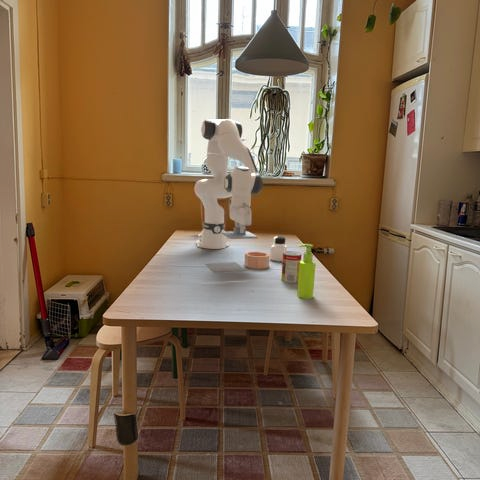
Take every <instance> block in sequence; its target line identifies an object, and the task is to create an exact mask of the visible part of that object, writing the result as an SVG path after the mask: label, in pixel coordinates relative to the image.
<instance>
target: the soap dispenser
mask: <svg viewBox="0 0 480 480" xmlns="http://www.w3.org/2000/svg"><path fill="white" fill-rule="evenodd" d="M297 245H298V247H299V248H302V247H305V248H306V251H305V252H304V253H303V259H302V260H301V261H300V266H299V279H298V283H297V294H296V295H297V296H298V298H301V299H312V298H313V297H314V286H315V276H316V266H317V265H316V262H315V261H313V258H314V254H313V253H312V248H314V245H313V244H312V243H311V244H310V243H300V244H297Z"/></svg>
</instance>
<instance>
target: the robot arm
mask: <svg viewBox="0 0 480 480" xmlns="http://www.w3.org/2000/svg"><path fill="white" fill-rule="evenodd" d="M201 124H202V125H201V129H200V131H201V136H202V138H203V139H204V140H205V139H206V140H208V144H207V148H206V168H207V170H208V171H209V172H211V174H212V177H213V178H204V179H203V178H202V179H199V180H196V182H195V185H194V187H193V188H194V190H193V191H194V193H195V196H196V197H198V199H199V200H200V202H201V201H202V203H203V205H204V209H205V222H204V225H203V228H204V229H203V230H201V232H200V233H199V234H197V239H198V240H196V241H195V243H196V244H195V245H197V248H202V249H203V248H204V249H210V250H211V249H212V250H219V249H225V248H227V247H230V244H229V243H228V242H227V241H228V240H227V239H228V237H226V236H225V235H223V234H222V232H225V231H226V230H225V231H224V228H225V229H226V226H225V223H224V209H223V208H222V207H221V206H220V205H219V204H218V202H217V198H228V197H229V204H228V205H229V218H230V220H232V221H233V222H234V225H235V227H240V229H239V232H240V233H244V228H246V226H251V225H252V217H253V216H252V209H251V208H250V207H251V206H252V205H251V203H252V202H251V199H252V195H253V196H254V195H255V196H256V195H258V194H259V193H261V192H262V190H263V187H264V182H263V181H264V180H263V178H262V176H261V174H260V173H259V171H258V168H257V165H256V163H255V161H254V157H253V155H252V153H251V150H250V148H249V147H247V146H246V145H245V144H244V142H242V140H241V138H242V135H243V125H242V124H241V122H239V121H235V120H233V119H229V118H225V119H212V118H210V119H209V118H208V119H205V120H204V121H203V122H202V123H201ZM227 157H229V158H232V159H235V160H237V161H239V162H241V163H242V164H243V165H244V166H243V165H242V166H241V165H238V166H235V167H234V168H233V171H232V172H231V173H228V170H227V169H228V167H227V165H228V164H227V161H228V160H227Z"/></svg>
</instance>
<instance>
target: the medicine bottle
mask: <svg viewBox="0 0 480 480" xmlns="http://www.w3.org/2000/svg"><path fill="white" fill-rule="evenodd" d="M285 251H288V246H287V245H286V237H284V236H282V235H281V236H280V235H279V236H274V237H273V244H272V245H271V246H270V252H269V253H270V254H269V255H270V259H269V261H276V262H283V252H285Z"/></svg>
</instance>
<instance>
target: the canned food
mask: <svg viewBox="0 0 480 480" xmlns="http://www.w3.org/2000/svg"><path fill="white" fill-rule="evenodd" d="M302 255H303V254H302V252H299V251H293V250H287V251H285V252H283V262H282V261H281V262H282V263H281V264H282V266H281V278H280V279H281V281H282V282H284V283H290V284H298V279H299V266H300V261H302Z"/></svg>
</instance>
